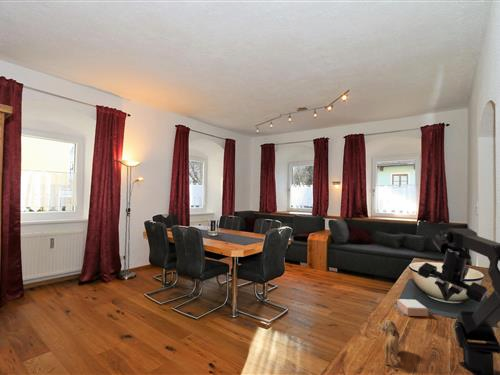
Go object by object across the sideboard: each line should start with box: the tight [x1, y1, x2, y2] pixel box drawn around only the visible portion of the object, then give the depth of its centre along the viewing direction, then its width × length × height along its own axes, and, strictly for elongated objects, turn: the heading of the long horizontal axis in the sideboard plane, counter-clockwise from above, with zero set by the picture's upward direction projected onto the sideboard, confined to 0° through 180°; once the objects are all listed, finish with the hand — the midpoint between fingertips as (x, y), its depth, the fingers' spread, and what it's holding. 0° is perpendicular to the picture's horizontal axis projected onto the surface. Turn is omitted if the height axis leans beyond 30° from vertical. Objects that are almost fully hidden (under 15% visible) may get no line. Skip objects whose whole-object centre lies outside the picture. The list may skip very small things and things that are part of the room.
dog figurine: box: [380, 319, 400, 369], centre depth 87 cm, size 15×5×9 cm, turn 159°
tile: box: [396, 298, 429, 317], centre depth 120 cm, size 3×8×10 cm
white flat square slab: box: [393, 304, 429, 317], centre depth 122 cm, size 10×10×1 cm
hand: (446, 300), depth 98 cm, fingers closed
